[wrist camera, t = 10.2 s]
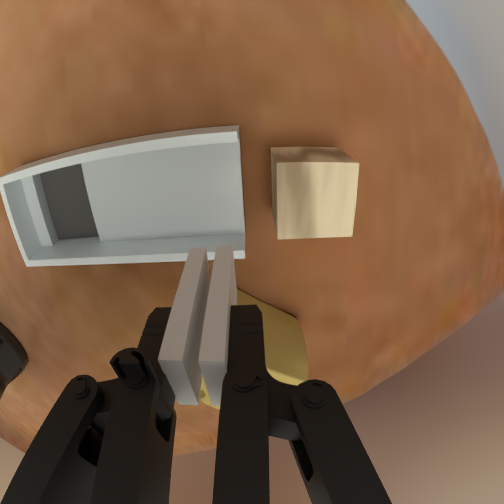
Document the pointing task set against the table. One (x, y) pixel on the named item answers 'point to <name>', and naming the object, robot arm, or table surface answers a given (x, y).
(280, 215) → the block
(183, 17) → the table surface
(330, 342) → the table surface
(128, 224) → the channel
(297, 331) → the cheese
